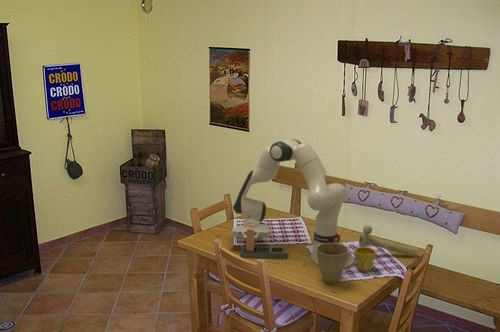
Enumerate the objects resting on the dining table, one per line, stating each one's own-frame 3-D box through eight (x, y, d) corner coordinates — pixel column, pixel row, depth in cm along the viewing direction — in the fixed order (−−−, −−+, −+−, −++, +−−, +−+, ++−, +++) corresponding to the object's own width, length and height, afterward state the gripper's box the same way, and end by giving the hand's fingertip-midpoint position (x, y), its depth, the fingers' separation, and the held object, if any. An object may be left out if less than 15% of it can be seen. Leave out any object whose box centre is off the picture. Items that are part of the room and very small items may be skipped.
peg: (254, 248, 288) (254, 227, 285) (253, 251, 284) (254, 229, 281) (246, 248, 288) (246, 226, 285) (246, 251, 284) (246, 229, 281)
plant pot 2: (361, 262, 279) (362, 244, 276) (378, 269, 272) (380, 251, 269) (349, 268, 272) (350, 250, 269) (366, 275, 265) (368, 256, 262)
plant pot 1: (329, 270, 270) (331, 240, 266) (353, 281, 259) (355, 249, 255) (308, 278, 261) (309, 247, 257) (331, 290, 249) (333, 258, 245)
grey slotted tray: (286, 252, 290) (286, 247, 289) (286, 258, 282) (286, 253, 282) (241, 251, 291) (241, 246, 290) (240, 257, 283) (240, 252, 282)
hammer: (418, 237, 287) (363, 223, 287) (421, 241, 283) (365, 227, 282) (409, 264, 291) (355, 250, 291) (411, 268, 287) (356, 254, 286)
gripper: (232, 222, 297) (230, 231, 283) (270, 223, 296) (269, 232, 282) (232, 233, 298) (230, 243, 285) (269, 234, 297) (269, 244, 284)
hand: (250, 238), depth 284 cm, fingers closed on peg, 4 cm apart
